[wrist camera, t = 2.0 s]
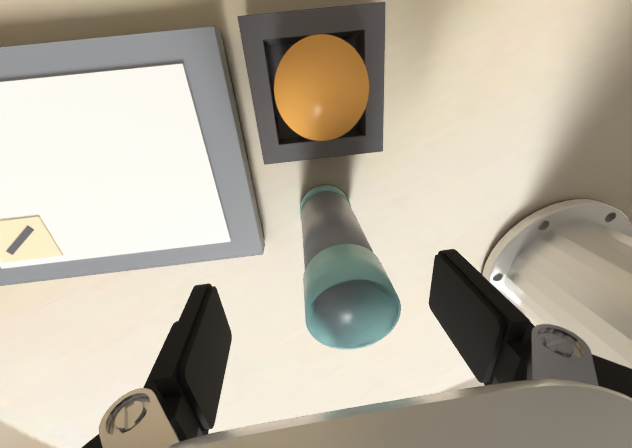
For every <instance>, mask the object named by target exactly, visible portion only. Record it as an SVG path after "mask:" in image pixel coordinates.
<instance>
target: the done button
mask: <svg viewBox="0 0 632 448" xmlns="http://www.w3.org/2000/svg"><path fill="white" fill-rule="evenodd" d="M274 94H275V101H276V105H277V108H278V110H279V113H280V115H281V117H282V118H283V120H284V121H285V123H286V124H287V125H288V126H289V127H290V128H291V129H292V130H293V131H294V132H296V133H297V134H299V135H301V136H302V137H305V138H307V139H311V140H316V141H327V140H332V139H335V138H338V137H340V136H342V135H344V134H345V133H347V132H348V131H349V130H351V129H352V128H353V127H354V126H355V125H356V123H357V122H358V121H359V119H360V118H361V116H362V114H363V112H364V110H365V108H366V105H367V101H368V96H369V78H368V73H367V70H366V66H365V64H364V62H363V60H362V58H361V57H360V55H359V53H358V52H357V51H356V50H355V49H354V48H353V47H352V46H351V45H350V44H349V43H347V42H346V41H344V40H343V39H341V38H338V37H336V36H332V35H326V34H317V35H312V36H309V37H306V38H303V39H302V40H300V41H298V42H297V43H295V44H294V45H293V46H292V47H291V48H290V49H289V50H288V51H287V52H286V53H285V55H284V56H283V58H282V60H281V61H280V63H279V66H278V68H277V72H276V75H275V81H274Z"/></svg>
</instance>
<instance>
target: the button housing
mask: <svg viewBox="0 0 632 448" xmlns="http://www.w3.org/2000/svg"><path fill="white" fill-rule="evenodd" d="M238 22H239V27H240V33H241V38H242V44H243V50H244V55H245V61H246V66H247V72H248V77H249V83H250V88H251V94H252V99H253V105H254V110H255V116H256V121H257V127H258V132H259V138H260V143H261V149H262V155H263V160H264V164H273V163H282V162H291V161H300V160H309V159H318V158H327V157H336V156H345V155H354V154H363V153H372V152H381V151H383V110H384V51H385V2H379V3H369V4H359V5H349V6H338V7H328V8H318V9H308V10H297V11H287V12H277V13H266V14H256V15H246V16H238ZM317 34H326V35H332V36H336V37H338V38H341V39H343V40H344V41H346V42H347V43H349V44H350V45H351V46H352V47H353V48H354V49H355V50H356V51H357V52H358V53H359V55H360V57H361V58H362V60H363V62H364V64H365V66H366V70H367V73H368V78H369V96H368V101H367V105H366V108H365V110H364V112H363V114H362V116H361V118H360V119H359V121H358V122H357V123H356V125H355V126H354V127H353V128H352V129H351V130H349V131H348V132H347V133H345V134H344V135H342V136H340V137H338V138H335V139H332V140H327V141H316V140H311V139H307V138H305V137H302V136H301V135H299V134H297V133H296V132H294V131H293V130H292V129H291V128H290V127H289V126H288V125H287V124H286V123H285V121H284V120H283V118H282V117H281V115H280V113H279V110H278V108H277V105H276V101H275V94H274V81H275V75H276V72H277V68H278V66H279V63H280V61H281V60H282V58H283V56H284V55H285V53H286V52H287V51H288V50H289V49H290V48H291V47H292V46H293V45H294V44H295V43H297V42H298V41H300V40H302V39H303V38H306V37H309V36H312V35H317Z"/></svg>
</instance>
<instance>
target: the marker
mask: <svg viewBox="0 0 632 448" xmlns="http://www.w3.org/2000/svg"><path fill="white" fill-rule="evenodd" d="M300 212H301V221H302V233H303V248H304V264H305V272H304V278H303V281H304V300H305V318H306V325H307V328H308V330H309V332H310V334H311V335H312V336H313V337H314V338H315V339H316V340H317V341H319V342H320V343H322V344H324V345H326V346H329V347H332V348H337V349H357V348H362V347H366V346H368V345H371V344H373V343H376V342H377V341H379V340H381V339H382V338H384V337H385V336H386V335H387V334H388V333H390V332H391V330H392V329H393V328H394V327H395V325H396V324H397V321H398V319H399V316H400V311H401V305H400V300H399V298H398V296H397V294H396V292H395V290H394V288H393V286H392V284H391V282H390V280H389V278H388V276H387V274H386V272H385V270H384V268H383V266H382V264H381V262H380V260H379V259H378V257H377V256H376V255H375V254H374V253H373V251H372V249H371V247H370V245H369V243H368V241H367V239H366V237H365V235H364V233H363V231H362V229H361V227H360V225H359V223H358V221H357V219H356V217H355V215H354V213H353V211H352V209H351V205H350V203H349V201H348V199H347V197H346V195H345V194H344V193H343V192H342V191H341V190H340V189H339V188H337V187H335V186H332V185H319V186H316V187H314V188H312V189H311V190H309V191H308V192H307V193H306V194H305V196H304V197H303V199H302V201H301V205H300Z"/></svg>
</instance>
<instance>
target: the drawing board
mask: <svg viewBox="0 0 632 448" xmlns="http://www.w3.org/2000/svg"><path fill="white" fill-rule="evenodd" d="M264 246H265V242H264V238H263V233H262V228H261V223H260V218H259V214H258V209H257V204H256V199H255V194H254V190H253V185H252V180H251V175H250V170H249V165H248V161H247V156H246V151H245V146H244V141H243V137H242V132H241V127H240V122H239V117H238V112H237V108H236V103H235V98H234V93H233V88H232V84H231V79H230V74H229V69H228V64H227V60H226V55H225V50H224V45H223V40H222V35H221V32H220V31H219V30H218V29H216V28H215V27H214V26H212V27H202V28H192V29H181V30H171V31H161V32H151V33H141V34H130V35H120V36H110V37H100V38H90V39H79V40H69V41H59V42H49V43H39V44H28V45H18V46H8V47H0V286H4V285H12V284H20V283H29V282H37V281H45V280H54V279H62V278H70V277H79V276H87V275H96V274H104V273H112V272H121V271H129V270H137V269H146V268H154V267H162V266H171V265H179V264H187V263H196V262H204V261H212V260H221V259H229V258H237V257H246V256H254V255H262V254H263V252H264Z"/></svg>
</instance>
